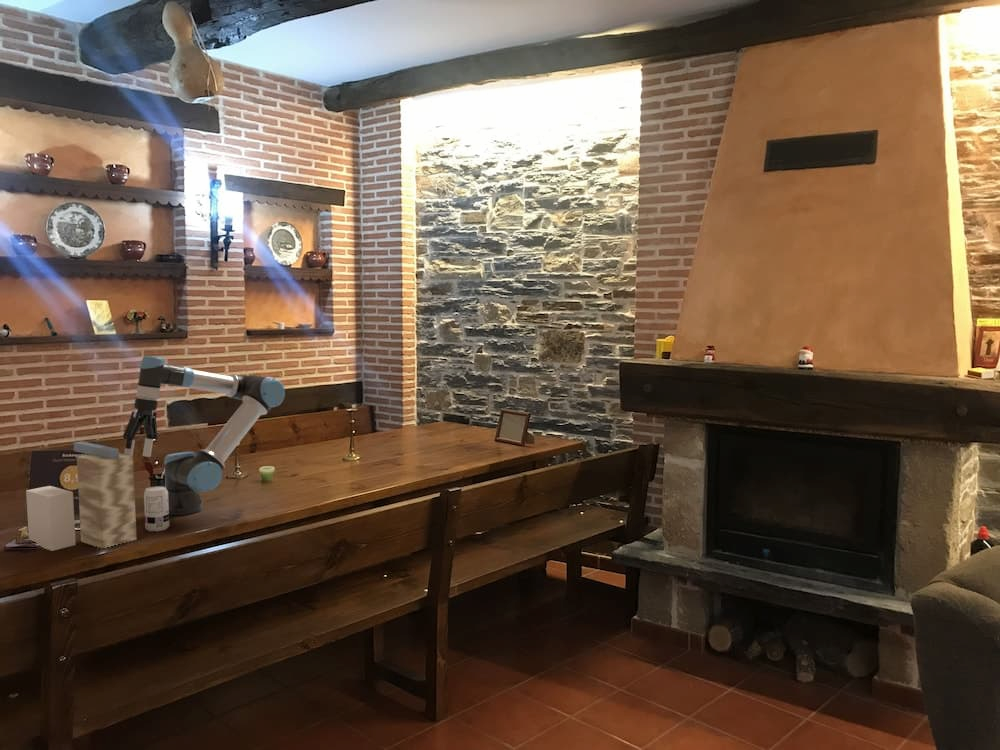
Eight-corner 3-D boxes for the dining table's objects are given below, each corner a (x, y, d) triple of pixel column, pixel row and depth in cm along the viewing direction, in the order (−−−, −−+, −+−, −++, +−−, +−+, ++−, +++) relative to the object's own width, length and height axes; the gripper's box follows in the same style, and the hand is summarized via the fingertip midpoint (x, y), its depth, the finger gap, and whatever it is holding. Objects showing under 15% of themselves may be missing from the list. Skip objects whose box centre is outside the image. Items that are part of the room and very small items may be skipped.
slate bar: (82, 449, 289) (81, 441, 289) (119, 457, 277) (118, 448, 276) (74, 451, 287) (73, 442, 287) (110, 459, 274) (110, 450, 274)
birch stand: (113, 532, 291) (110, 450, 288) (136, 539, 283) (132, 455, 280) (81, 541, 281) (76, 456, 278) (103, 548, 273) (99, 461, 270)
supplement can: (140, 529, 295) (138, 489, 294) (160, 524, 302) (159, 484, 300) (153, 533, 291) (152, 492, 289) (174, 527, 298) (172, 488, 296)
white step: (52, 537, 286) (49, 485, 284) (75, 544, 277) (72, 492, 275) (29, 542, 279) (26, 490, 277) (51, 550, 271) (49, 496, 269)
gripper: (153, 398, 305) (144, 454, 304) (119, 396, 280) (108, 456, 279) (172, 401, 304) (163, 457, 303) (139, 399, 280) (129, 460, 278)
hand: (137, 457), depth 291 cm, fingers open, 13 cm apart
